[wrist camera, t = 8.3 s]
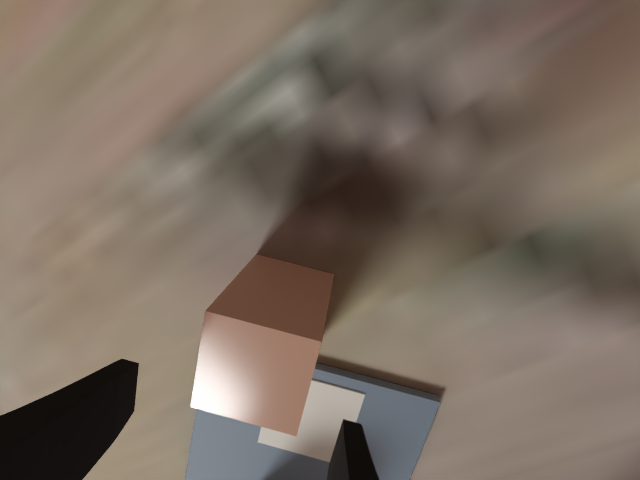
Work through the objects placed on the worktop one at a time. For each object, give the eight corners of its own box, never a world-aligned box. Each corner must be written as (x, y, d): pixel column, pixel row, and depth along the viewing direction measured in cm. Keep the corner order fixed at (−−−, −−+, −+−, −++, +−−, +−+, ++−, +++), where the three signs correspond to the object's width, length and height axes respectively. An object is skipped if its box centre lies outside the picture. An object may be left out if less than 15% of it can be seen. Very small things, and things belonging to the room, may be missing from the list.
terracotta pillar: (334, 274, 20) (321, 341, 13) (316, 342, 21) (296, 436, 15) (256, 254, 20) (205, 311, 14) (243, 323, 22) (190, 407, 15)
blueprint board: (438, 395, 21) (440, 403, 21) (366, 575, 26) (366, 587, 25) (211, 334, 22) (206, 340, 21) (180, 521, 26) (176, 531, 26)
